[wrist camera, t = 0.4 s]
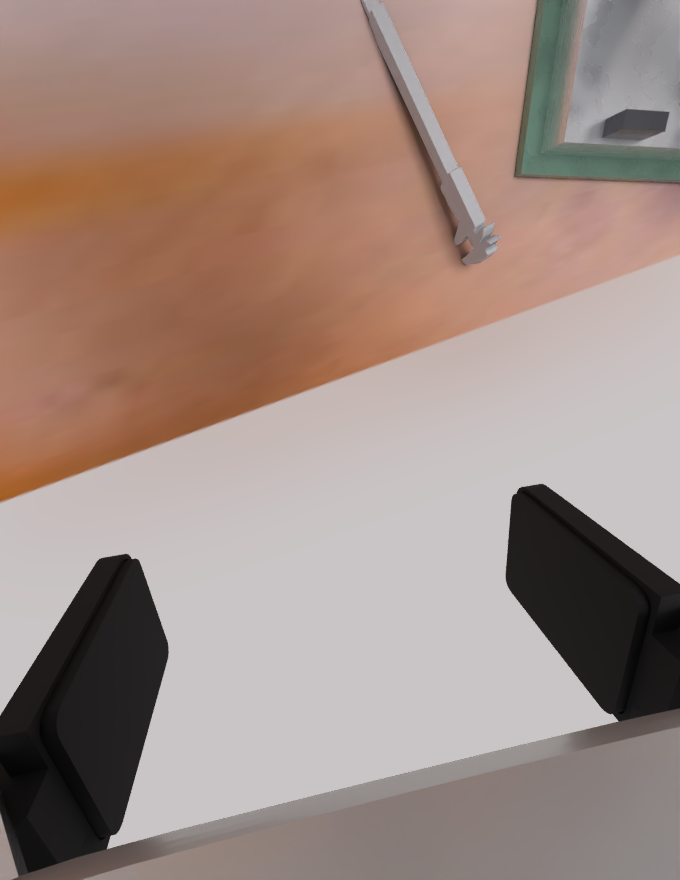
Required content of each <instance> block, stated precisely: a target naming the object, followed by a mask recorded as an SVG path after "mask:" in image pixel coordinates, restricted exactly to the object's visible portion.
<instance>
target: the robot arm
mask: <svg viewBox="0 0 680 880" xmlns="http://www.w3.org/2000/svg"><path fill="white" fill-rule="evenodd" d="M506 582H507V585H508V587H509V589H510V591H511V592H512V594H513V595H514V596H515V597H516V599H517V600H518V601H519V602H520V604H521V605H522V606H523V608H524V609H525V610H526V612H527V613H528V614H529V615H530V617H531V618H532V619H533V621H534V622H535V623H536V624H537V626H538V627H539V628H540V630H541V631H542V632H543V633H544V635H545V636H546V637H547V638H548V640H549V641H550V642H551V644H552V645H553V646H554V648H555V649H556V650H557V651H558V653H559V654H560V655H561V657H562V658H563V659H564V660H565V662H566V663H567V664H568V666H569V667H570V668H571V669H572V671H573V672H574V673H575V675H576V676H577V677H578V679H579V680H580V681H581V682H582V683H583V685H584V686H585V688H586V689H587V690H588V691H589V693H590V694H591V695H592V696H593V698H594V699H595V700H596V702H597V703H598V704H599V706H600V707H601V708H602V709H603V710H604V711H606V712H607V713H609V714H613V715H614V716H615V717H616V719H617V720H618V721H619V722H615V723H611V724H607V725H603V726H599V727H594V728H591V729H586V730H582V731H578V732H574V733H570V734H565V735H561V736H557V737H552V738H548V739H544V740H540V741H536V742H532V743H528V744H523V745H519V746H515V747H511V748H506V749H502V750H498V751H494V752H490V753H486V754H482V755H477V756H473V757H469V758H465V759H461V760H457V761H453V762H449V763H445V764H441V765H437V766H432V767H429V768H424V769H420V770H416V771H412V772H408V773H404V774H400V775H396V776H392V777H388V778H384V779H380V780H376V781H372V782H367V783H363V784H359V785H356V786H352V787H347V788H343V789H339V790H335V791H331V792H327V793H323V794H319V795H315V796H311V797H307V798H303V799H299V800H295V801H291V802H287V803H283V804H279V805H276V806H271V807H267V808H263V809H260V810H256V811H251V812H248V813H243V814H239V815H236V816H231V817H227V818H223V819H220V820H216V821H212V822H208V823H204V824H200V825H196V826H192V827H188V828H184V829H180V830H176V831H172V832H169V833H165V834H161V835H158V836H154V837H151V838H147V839H144V840H140V841H136V842H132V843H128V844H125V845H121V846H117V847H114V848H110V849H107V846H108V843H109V839H110V836H111V835H115V834H116V833H117V832H118V831H119V829H120V827H121V825H122V822H123V819H124V815H125V811H126V808H127V804H128V801H129V797H130V793H131V790H132V786H133V782H134V779H135V775H136V772H137V768H138V764H139V761H140V757H141V754H142V750H143V746H144V743H145V739H146V736H147V732H148V728H149V725H150V721H151V718H152V714H153V710H154V706H155V703H156V699H157V695H158V692H159V688H160V685H161V681H162V678H163V674H164V671H165V667H166V663H167V660H168V642H167V639H166V636H165V634H164V630H163V628H162V625H161V622H160V619H159V616H158V613H157V610H156V607H155V605H154V602H153V599H152V596H151V593H150V590H149V587H148V585H147V581H146V578H145V576H144V573H143V570H142V567H141V564H140V562H139V560H138V559H131V557H130V556H129V555H128V554H124V555H117V556H112V557H105V558H101V559H99V560H98V561H97V562H96V564H95V566H94V567H93V569H92V570H91V572H90V574H89V575H88V577H87V578H86V580H85V582H84V583H83V585H82V586H81V588H80V590H79V591H78V593H77V594H76V596H75V597H74V599H73V601H72V602H71V604H70V605H69V607H68V609H67V610H66V612H65V613H64V615H63V617H62V618H61V620H60V621H59V623H58V625H57V626H56V628H55V629H54V631H53V632H52V634H51V636H50V637H49V639H48V640H47V642H46V644H45V645H44V647H43V648H42V650H41V652H40V653H39V655H38V656H37V658H36V660H35V661H34V663H33V664H32V666H31V668H30V669H29V671H28V672H27V674H26V676H25V677H24V679H23V681H22V682H21V683H20V685H19V687H18V688H17V690H16V691H15V693H14V695H13V697H12V698H11V699H10V701H9V703H8V704H7V706H6V707H5V709H4V711H3V712H2V714H1V715H0V880H680V584H679V583H678V582H676V581H675V580H674V579H672V578H671V577H669V576H668V575H666V574H665V573H664V572H663V571H661V570H660V569H659V568H657V567H656V566H655V565H653V564H652V563H650V562H649V561H648V560H646V559H645V558H644V557H642V556H641V555H640V554H638V553H637V552H635V551H634V550H633V549H631V548H630V547H629V546H627V545H626V544H625V543H623V542H622V541H621V540H619V539H618V538H617V537H615V536H614V535H612V534H611V533H610V532H608V531H607V530H606V529H604V528H603V527H602V526H600V525H599V524H597V523H596V522H595V521H593V520H592V519H591V518H589V517H588V516H587V515H585V514H584V513H583V512H581V511H580V510H578V509H577V508H576V507H574V506H573V505H571V504H570V503H569V502H568V501H566V500H565V499H564V498H562V497H561V496H559V495H558V494H557V493H555V492H554V491H553V490H551V489H550V488H549V487H547V486H546V485H544V484H538V485H532V486H526V487H521V488H519V489H518V491H517V494H514V495H513V497H512V501H511V515H510V528H509V540H508V553H507V566H506Z"/></svg>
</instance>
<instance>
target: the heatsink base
mask: <svg viewBox="0 0 680 880" xmlns="http://www.w3.org/2000/svg"><path fill="white" fill-rule="evenodd" d="M515 177H534V178H560V179H586V180H612V181H638V182H664V183H680V0H538V3H537V11H536V18H535V26H534V33H533V41H532V48H531V56H530V64H529V71H528V79H527V86H526V94H525V101H524V109H523V117H522V124H521V132H520V139H519V147H518V154H517V162H516V169H515Z"/></svg>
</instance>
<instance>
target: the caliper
mask: <svg viewBox="0 0 680 880" xmlns="http://www.w3.org/2000/svg"><path fill="white" fill-rule="evenodd" d="M361 3H362V5H363V7H364V9H365V11H366V13H367V16H368V18H369V23H370V26H371V29H372V31H373V34H374V36H375V39H376V41H377V44H378V47H379V49H380V51H381V53H382V55H383V57H384V59H385V61H386V63H387V66H388V68H389V70H390V72H391V74H392V76H393V78H394V80H395V83H396V85H397V87H398V89H399V91H400V93H401V95H402V97H403V100H404V102H405V104H406V106H407V108H408V110H409V112H410V114H411V117H412V119H413V121H414V123H415V125H416V127H417V129H418V132H419V134H420V136H421V138H422V140H423V142H424V144H425V147H426V149H427V151H428V153H429V155H430V157H431V159H432V162H433V164H434V166H435V168H436V170H437V172H438V174H439V177H440V179H441V181H442V185H441V187H440V189H441V191H442V193H443V195H444V196H445V198H446V200H447V203H448V206H449V207H450V209H451V210H452V212H453V213H454V215H456V217H457V219H458V222H459V226H458V229H457V232H456V235H455V239H454V243H455V245H456V246H458V245H459V244H461V243H462V242H464V241H466V240H467V239H469V240H470V242H471V244H472V246H473V248H474V249H473V250H472V251H471V252H470V253H469V254H468V255H467V256H465V257H464V258H463V259H462V262H463V263H464V264H465V265H468V264H477V263H480V262H482V261H483V260H485V259H487V258H488V257H490V256H491V255H492V254H493V253H494V252H496V251H497V250H498V247H497V245H496V243H495V242H497V241H498V240H499V239H500V238H501V237H500V236H499V235H492V236H490V235H491V234H492V232H493V230H494V225H495V223H494V222H493V223H491V224H490V225H488V226H486V227H485V224H484V223H485V222H486V220H485V217H484V215H483V213H482V211H481V209H480V206H479V204H478V202H477V200H476V198H475V196H474V193H473V191H472V189H471V187H470V185H469V183H468V180H467V178H466V176H465V174H464V172H463V170H462V167H458V165H457V163H456V161H455V159H454V157H453V154H452V152H451V150H450V148H449V146H448V143H447V141H446V139H445V137H444V135H443V132H442V130H441V128H440V126H439V124H438V121H437V119H436V117H435V115H434V113H433V110H432V108H431V106H430V104H429V102H428V99H427V97H426V95H425V93H424V91H423V88H422V86H421V84H420V82H419V80H418V77H417V75H416V73H415V71H414V69H413V66H412V64H411V62H410V60H409V58H408V55H407V53H406V51H405V49H404V47H403V44H402V42H401V40H400V38H399V36H398V34H397V31H396V29H395V27H394V25H393V23H392V20H391V18H390V16H389V14H388V12H387V9H386V7H385V5H384V3H383V2H382V3H381V4H380V2H379V0H361Z"/></svg>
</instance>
